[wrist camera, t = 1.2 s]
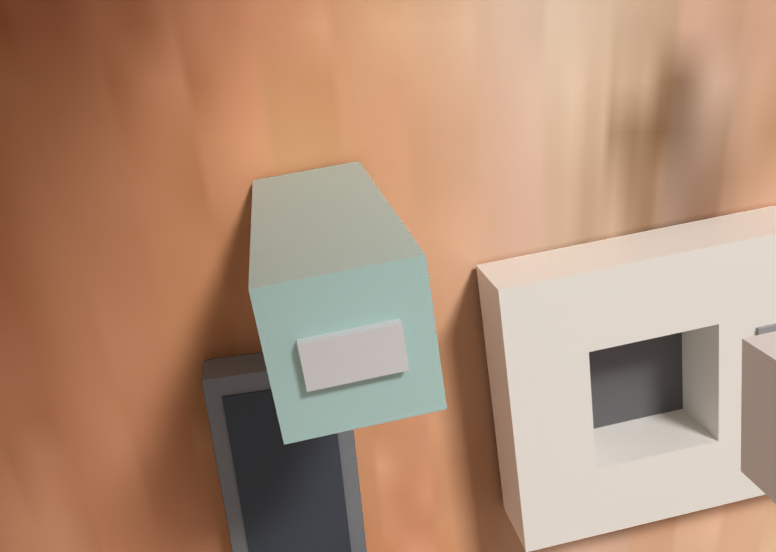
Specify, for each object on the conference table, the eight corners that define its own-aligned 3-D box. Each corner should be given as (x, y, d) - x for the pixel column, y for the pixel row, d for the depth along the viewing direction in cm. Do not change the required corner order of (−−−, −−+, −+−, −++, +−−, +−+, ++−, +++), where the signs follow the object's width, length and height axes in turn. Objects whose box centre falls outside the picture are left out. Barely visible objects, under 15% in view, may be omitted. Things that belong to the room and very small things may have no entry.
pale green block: (252, 180, 27) (248, 294, 16) (358, 161, 28) (428, 258, 16) (274, 280, 29) (284, 451, 17) (375, 260, 29) (449, 415, 18)
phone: (204, 357, 30) (201, 381, 28) (340, 338, 31) (346, 360, 29) (240, 559, 33) (239, 592, 31) (362, 537, 34) (368, 568, 32)
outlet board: (476, 265, 30) (499, 291, 27) (838, 192, 32) (897, 210, 29) (504, 509, 34) (527, 554, 31) (823, 433, 36) (874, 470, 33)
